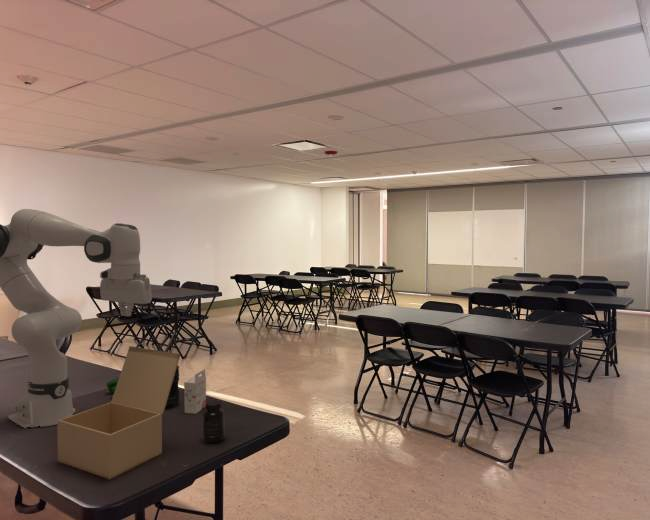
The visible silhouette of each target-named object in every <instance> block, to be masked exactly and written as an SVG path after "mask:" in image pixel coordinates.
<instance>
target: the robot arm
mask: <svg viewBox="0 0 650 520" xmlns="http://www.w3.org/2000/svg"><path fill="white" fill-rule="evenodd" d="M10 218H11V219H10V223H9V224H6V225H5V224H4V225H2V224H1V223H0V289H1V291H2V292H3V293H4V295H5V297H6V298H7V299H8V301H9V302H10V303H11V305H12V306H13V308H15V309H16V310H18V311H20V312H23V313H26V314H24V315H22V316H20V317H18V318H16V319H15V320H14V321H13V323H12V326H11V336H12V338H13V340H14V341H15V342H16V343H17V344H19V345H20V346H22V347H23V348H24V349H25V351H26V353H27V355H28V358H29V363H30V376H31V377H30V379H31V380H30V381H28V382H26V383H27V384H26V386H27V387H28V389H27V392H26V393H25V394H24V395H23V396H22V397H20V398H19V399H18V400H17V402H16V403H15V408H14V409H15V410H14V411H15V412H13V413H11V414H9V415H8V416H7V419H8V418H9V419H10V420H12V421H13V422H15V423H17V424H18V425H20V426H21V427H24V428H23V429H27V428H26V427H31V428H39V427H38V426H40V428H41V427H43V428H44V427H51V426H55V425H57V421H58V420H61V419H63V418H66V417H69V416H72V415H74V413H76V408H74V407H73V397H72V396H73V395H72V391H71V390H70V389H69V388H70V380H69V377H68V357H67V355H66V354H65V353H64V352H62V351H61V350H59V348H58V346H57V340H61V339H64V338H65V339H66V338H67V337H70V336H72V335H73V334H75V333H77V332H78V331H79V330H80V329H81V327H82V324H83V317H82V315H81V313H80V311H78V310H77V309H75V308H72V307H69V306H68V305H66V304H65V303H63V302H61V301H60V300H58V299H57V298H55V296H53V295H52V294H51V293H50V292H49V291H47V289H46V288H45V287H44V286H43V284H42V283H41V281H40V280H39V279H38V278H37V276H36V275H35V273H34V272H33V270H32V269H31V268H30V267H29V265H28V260H33V259H35V258H36V256H37V254H39V253H40V252H41V251H42V250H43V247H44V246H47V247H83V251H84V255H85V257H86V258H87V259H88V260H89V261H90V262H93V263H96V264H108V263H109V264H110V268H107V269H105V270H103V271H101V272H100V273H99V277H100V279H101V280H100V284H99V285H100V286H99V291H100V292H99V293H100V298H101V300H102V301H107V302H117V307H118V308H119V310H120V316H122V317H131V316H132V310H133V309H134V307H135V304H140V305H144V304H145V305H146V304H151V302H152V300H153V295H152V294H153V293H152V285H151V281H150V278H149V277H148V276H147V275H146V274H141V261H140V254H141V239H140V237H141V236H140V232H139V229H138V228H137V227H136V226H135V225H133V224H129V223H128V224H126V223H121V222H120V223H119V222H118V223H114V224H112V225H111V227H110V228H107V229H106V230H104V231H98V230H95V229H91V228H88V227H85V226H82V225H80V224H77V223H75V222H72V221H70V220H67V219H65V218H63V217H59V216H58V215H55V214H52V213H50V212H49V213H48V212H45V211H42V210H37V209H31V208H29V209H28V208H22V209H19V210H17V211H16V212H15V213H14V214H12V217H10ZM9 419H8V420H9ZM10 420H9V421H10ZM12 421H11V422H12ZM13 422H12V423H13ZM15 423H14V424H15ZM17 424H16V425H17ZM18 425H17V426H18ZM20 426H19V427H20ZM21 427H20V428H21Z"/></svg>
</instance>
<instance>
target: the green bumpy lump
mask: <svg viewBox="0 0 650 520" xmlns="http://www.w3.org/2000/svg"><path fill="white" fill-rule="evenodd" d="M118 380H119V377H117V378H115V379H112V380H111V381H107V382H106V383H105V384H106V387H107V388H108V391H109V395H110V396H113V395H114V392H115V389H116V386H117V383H118Z"/></svg>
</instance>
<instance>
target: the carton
mask: <svg viewBox="0 0 650 520" xmlns="http://www.w3.org/2000/svg"><path fill="white" fill-rule="evenodd" d="M56 425H57V428H56V429H57V430H56V431H57V462H58V461H59V462H58V463H60V462H61V463H60V464H63V463H64V464H63V465H65V464H66V466H68V465H69V467H71V466H72V468H74V467H75V469H77V468H78V470H80V471H83V470H84V471H83V472H86V471H87V472H86V473H89V474H91V475H95V476H98V477H101V478H104V479H106V480H113V479H115V478H117V477H120V476H121V475H122V474H125V473H126V472H128V471H130V470H133V469H134V468H136V467H139V466H140V465H143V464H144V463H146V462H148V461H150V460H152V459H153V458H155V457H158V456H159V455H162V454H163V414H162V413H158V412H154V411H149V410H145V409H141V408H136V407H132V406H128V405H124V404H119V403H115V402H111V401H110V402H107V403H104V404H101V405H98V406H95V407H93V408H90V409H86V410H84V411H81V412H79V413H76V414H73V415H72V416H69V417H66V418H63V419H61V420H58V421H57V424H56Z"/></svg>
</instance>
